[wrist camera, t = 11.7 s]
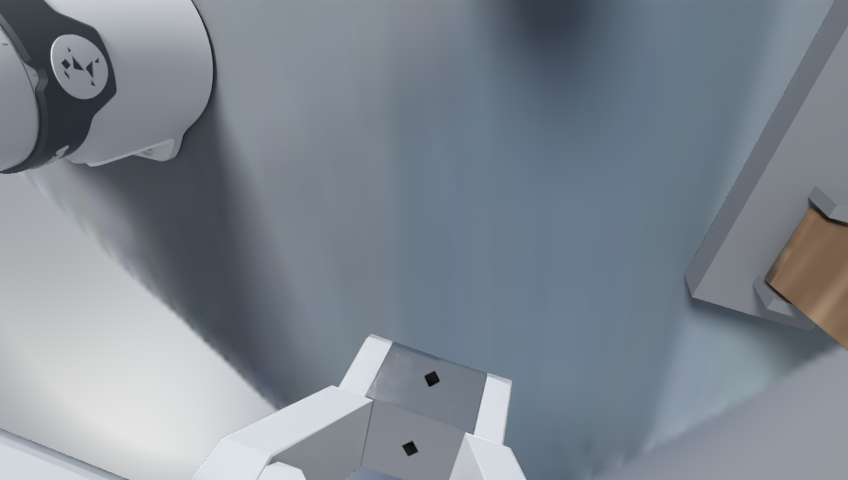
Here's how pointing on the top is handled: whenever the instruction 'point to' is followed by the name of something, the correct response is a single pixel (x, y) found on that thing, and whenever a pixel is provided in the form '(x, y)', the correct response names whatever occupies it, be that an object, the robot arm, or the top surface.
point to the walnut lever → (816, 272)
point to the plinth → (782, 184)
